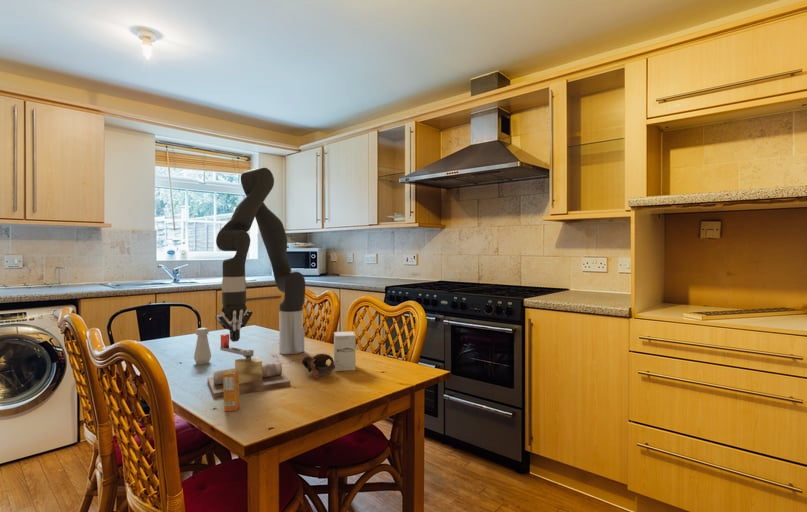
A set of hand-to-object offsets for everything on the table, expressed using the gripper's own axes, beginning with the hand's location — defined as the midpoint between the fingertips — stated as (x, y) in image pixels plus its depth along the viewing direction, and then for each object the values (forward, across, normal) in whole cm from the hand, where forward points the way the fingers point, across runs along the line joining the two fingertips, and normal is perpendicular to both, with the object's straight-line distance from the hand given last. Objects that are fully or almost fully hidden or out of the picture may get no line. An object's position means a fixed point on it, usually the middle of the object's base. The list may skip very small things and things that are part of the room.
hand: (234, 341), depth 143 cm
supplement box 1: (+12, +18, +26) cm, 34 cm away
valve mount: (+12, +3, +12) cm, 17 cm away
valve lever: (+3, +3, +6) cm, 7 cm away
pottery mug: (+12, -16, +22) cm, 30 cm away
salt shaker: (+12, -1, -23) cm, 26 cm away
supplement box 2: (+12, -27, +24) cm, 39 cm away
